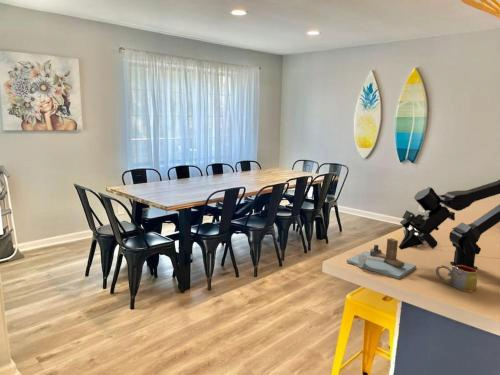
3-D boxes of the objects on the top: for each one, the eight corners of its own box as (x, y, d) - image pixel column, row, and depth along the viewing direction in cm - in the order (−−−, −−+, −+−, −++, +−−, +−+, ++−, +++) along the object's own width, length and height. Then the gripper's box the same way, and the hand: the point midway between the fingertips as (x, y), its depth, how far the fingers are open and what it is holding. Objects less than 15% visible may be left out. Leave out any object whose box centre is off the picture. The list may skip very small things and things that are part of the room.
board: (415, 268, 135) (416, 265, 135) (398, 279, 125) (398, 276, 125) (365, 253, 149) (365, 251, 149) (346, 262, 139) (346, 259, 139)
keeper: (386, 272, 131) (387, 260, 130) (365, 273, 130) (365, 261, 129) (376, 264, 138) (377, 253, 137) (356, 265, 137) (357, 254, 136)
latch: (367, 254, 144) (369, 233, 142) (375, 252, 146) (377, 231, 144) (397, 267, 131) (399, 244, 129) (405, 266, 133) (407, 243, 131)
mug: (478, 287, 120) (480, 267, 119) (473, 294, 115) (476, 274, 114) (437, 277, 128) (439, 258, 127) (432, 283, 123) (434, 264, 121)
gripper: (407, 198, 142) (376, 225, 143) (432, 210, 123) (395, 241, 125) (425, 218, 143) (394, 245, 145) (452, 233, 125) (416, 264, 127)
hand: (399, 248), depth 135 cm, fingers closed
